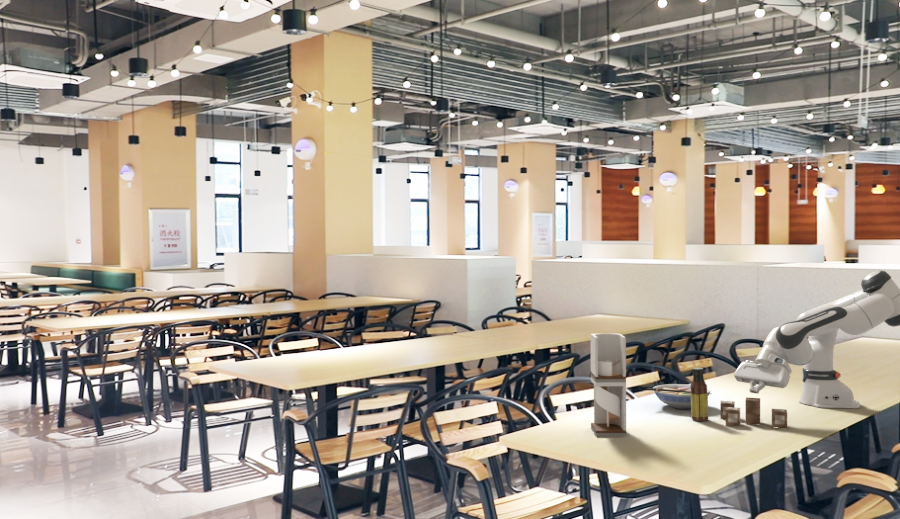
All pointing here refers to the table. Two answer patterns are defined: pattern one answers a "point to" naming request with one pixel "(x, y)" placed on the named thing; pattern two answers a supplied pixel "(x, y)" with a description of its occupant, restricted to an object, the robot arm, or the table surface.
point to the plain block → (753, 410)
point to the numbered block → (779, 418)
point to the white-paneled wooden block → (732, 416)
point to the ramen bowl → (675, 394)
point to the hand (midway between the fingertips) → (753, 392)
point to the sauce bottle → (699, 396)
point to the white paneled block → (723, 407)
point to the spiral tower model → (609, 383)
